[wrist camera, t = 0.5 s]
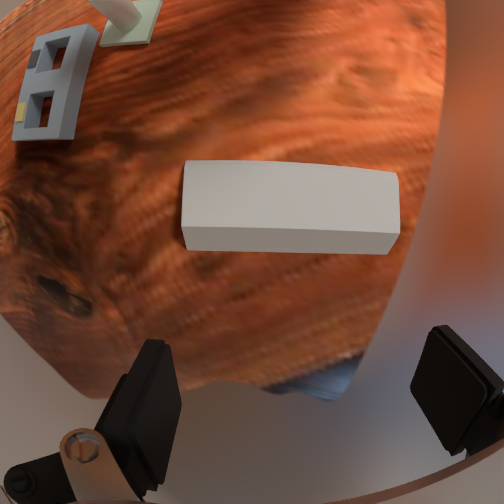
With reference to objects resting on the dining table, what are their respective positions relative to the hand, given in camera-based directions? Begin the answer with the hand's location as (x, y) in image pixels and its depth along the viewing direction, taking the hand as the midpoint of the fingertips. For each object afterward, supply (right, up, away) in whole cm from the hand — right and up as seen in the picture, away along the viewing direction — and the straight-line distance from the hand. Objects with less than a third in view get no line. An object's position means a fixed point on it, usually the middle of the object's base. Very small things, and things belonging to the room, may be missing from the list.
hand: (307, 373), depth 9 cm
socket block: (-32, +30, +22) cm, 49 cm away
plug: (-20, +38, +19) cm, 46 cm away
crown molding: (+4, +10, +29) cm, 31 cm away
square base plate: (-20, +38, +20) cm, 47 cm away
